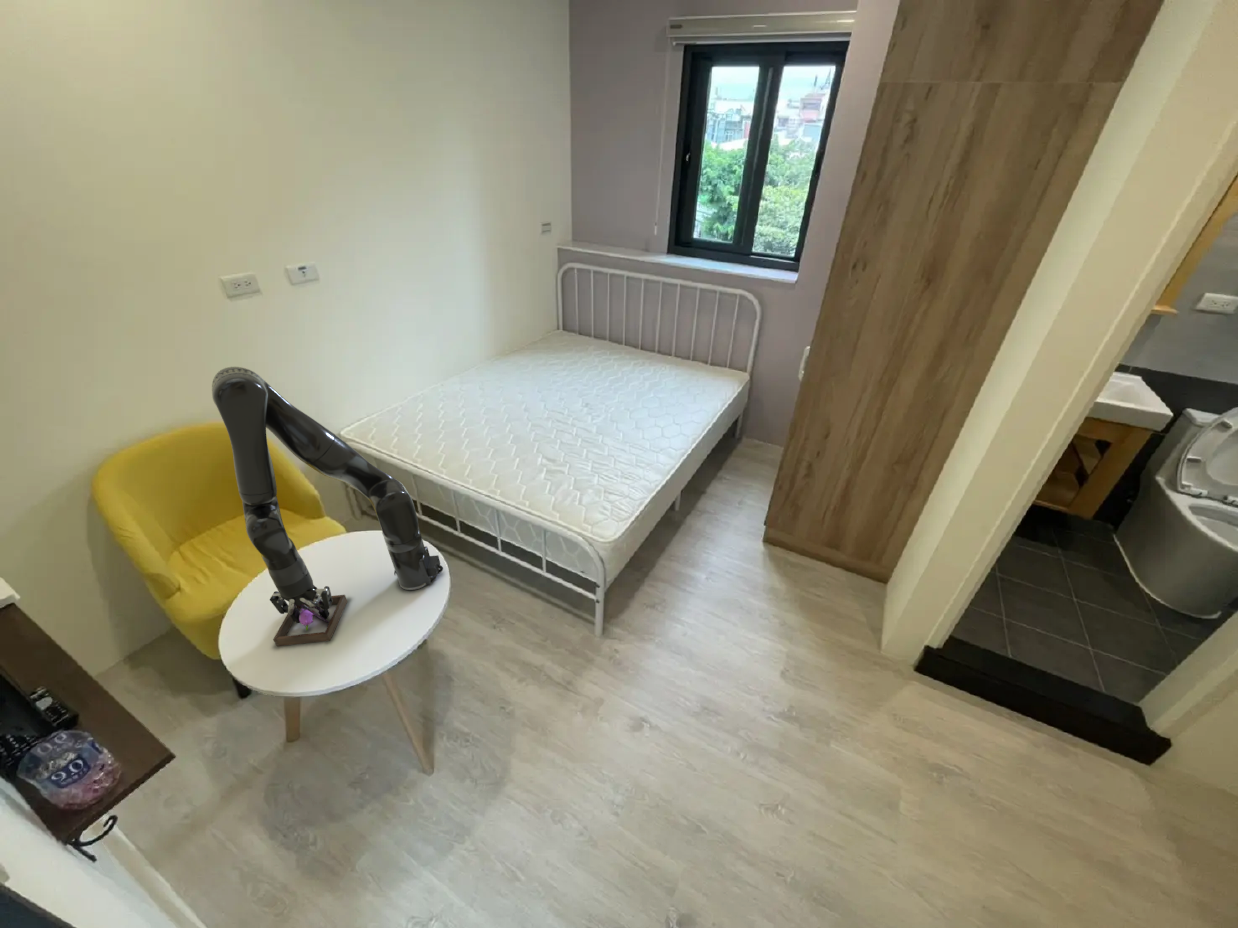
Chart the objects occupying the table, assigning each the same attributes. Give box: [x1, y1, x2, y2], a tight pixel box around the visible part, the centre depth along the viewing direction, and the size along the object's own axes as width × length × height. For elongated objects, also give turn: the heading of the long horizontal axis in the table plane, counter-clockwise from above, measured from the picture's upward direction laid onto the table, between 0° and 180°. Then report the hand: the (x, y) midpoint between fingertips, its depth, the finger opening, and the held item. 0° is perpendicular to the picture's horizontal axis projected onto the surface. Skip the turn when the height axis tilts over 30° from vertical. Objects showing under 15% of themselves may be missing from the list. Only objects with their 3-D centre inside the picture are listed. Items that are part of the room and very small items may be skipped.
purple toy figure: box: [299, 605, 330, 631], centre depth 134 cm, size 7×5×9 cm
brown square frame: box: [272, 594, 348, 647], centre depth 135 cm, size 13×14×3 cm
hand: (312, 619), depth 136 cm, fingers closed on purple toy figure, 6 cm apart
